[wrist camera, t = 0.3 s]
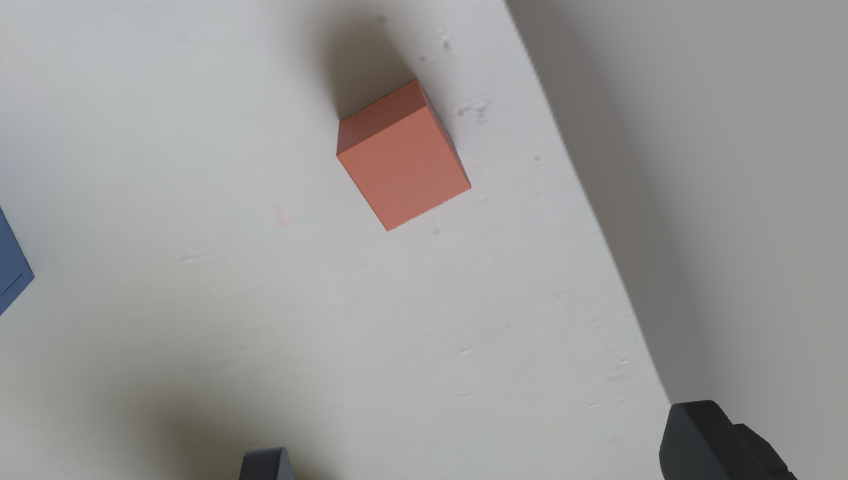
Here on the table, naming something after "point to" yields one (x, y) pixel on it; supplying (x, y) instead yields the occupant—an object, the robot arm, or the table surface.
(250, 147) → the table surface
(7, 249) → the slate bin
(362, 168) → the terracotta block
